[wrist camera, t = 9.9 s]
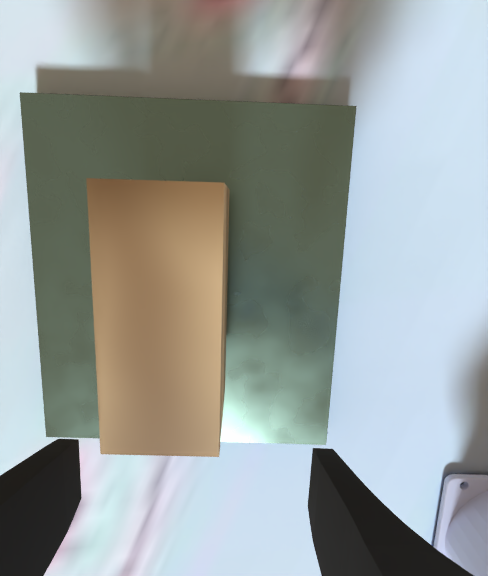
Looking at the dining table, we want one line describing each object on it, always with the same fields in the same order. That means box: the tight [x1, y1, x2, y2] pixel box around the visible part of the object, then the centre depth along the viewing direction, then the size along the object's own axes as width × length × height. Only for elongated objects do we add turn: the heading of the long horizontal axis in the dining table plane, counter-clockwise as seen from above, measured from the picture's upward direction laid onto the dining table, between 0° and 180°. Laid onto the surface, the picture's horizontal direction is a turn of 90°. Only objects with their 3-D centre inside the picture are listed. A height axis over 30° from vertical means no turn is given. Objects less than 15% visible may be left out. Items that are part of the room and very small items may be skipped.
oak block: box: [86, 178, 229, 457], centre depth 15 cm, size 4×9×5 cm, turn 178°
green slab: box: [20, 93, 356, 445], centre depth 19 cm, size 15×17×4 cm
